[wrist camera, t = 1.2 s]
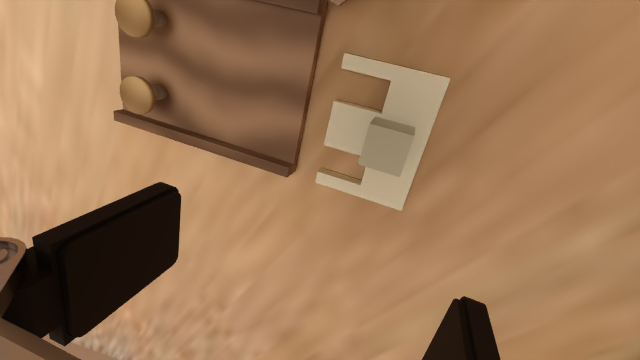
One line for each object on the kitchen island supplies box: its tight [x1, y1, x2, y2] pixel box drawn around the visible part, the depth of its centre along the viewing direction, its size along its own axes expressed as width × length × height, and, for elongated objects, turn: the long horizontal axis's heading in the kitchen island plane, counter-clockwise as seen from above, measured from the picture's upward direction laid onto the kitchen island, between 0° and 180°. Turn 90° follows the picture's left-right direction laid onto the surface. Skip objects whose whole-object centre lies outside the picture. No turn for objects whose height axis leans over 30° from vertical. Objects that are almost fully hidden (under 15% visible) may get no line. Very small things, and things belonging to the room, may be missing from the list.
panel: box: [315, 53, 450, 211], centre depth 31 cm, size 14×10×5 cm
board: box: [114, 0, 328, 177], centre depth 34 cm, size 18×24×5 cm
